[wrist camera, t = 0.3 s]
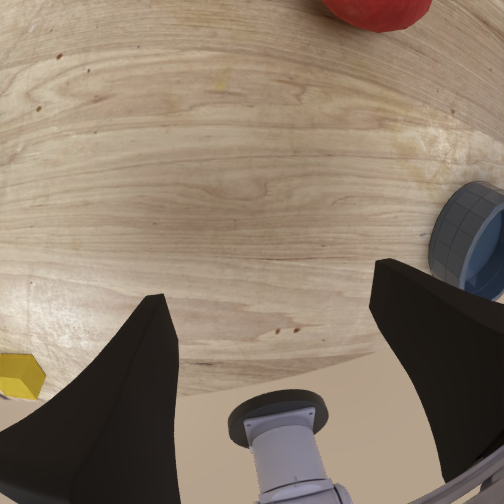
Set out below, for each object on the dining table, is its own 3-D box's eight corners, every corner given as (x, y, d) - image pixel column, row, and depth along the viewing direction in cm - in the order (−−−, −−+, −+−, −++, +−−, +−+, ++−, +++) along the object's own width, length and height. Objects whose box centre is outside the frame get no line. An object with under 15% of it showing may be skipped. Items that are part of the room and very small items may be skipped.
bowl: (487, 274, 23) (512, 296, 19) (418, 295, 22) (444, 324, 19) (507, 180, 18) (540, 196, 15) (438, 181, 18) (476, 200, 14)
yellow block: (46, 375, 21) (37, 400, 18) (15, 373, 21) (5, 395, 18) (31, 354, 20) (20, 379, 17) (0, 353, 19) (-11, 375, 17)
